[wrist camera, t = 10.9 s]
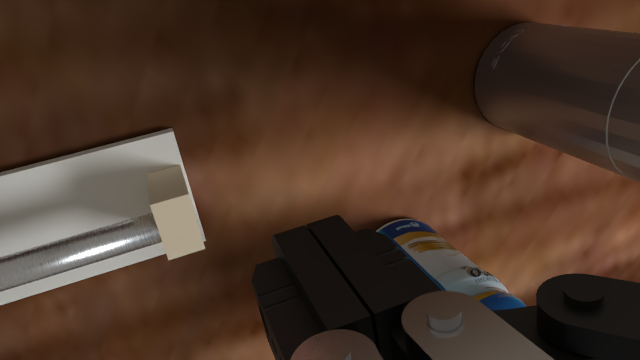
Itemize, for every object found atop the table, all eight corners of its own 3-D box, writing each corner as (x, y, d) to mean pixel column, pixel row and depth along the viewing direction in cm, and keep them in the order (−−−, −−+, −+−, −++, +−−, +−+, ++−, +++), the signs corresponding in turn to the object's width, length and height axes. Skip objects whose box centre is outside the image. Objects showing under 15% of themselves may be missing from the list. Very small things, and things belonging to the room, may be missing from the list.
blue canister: (338, 250, 47) (468, 415, 29) (417, 197, 47) (590, 326, 30) (377, 314, 50) (513, 495, 33) (449, 263, 51) (620, 413, 34)
